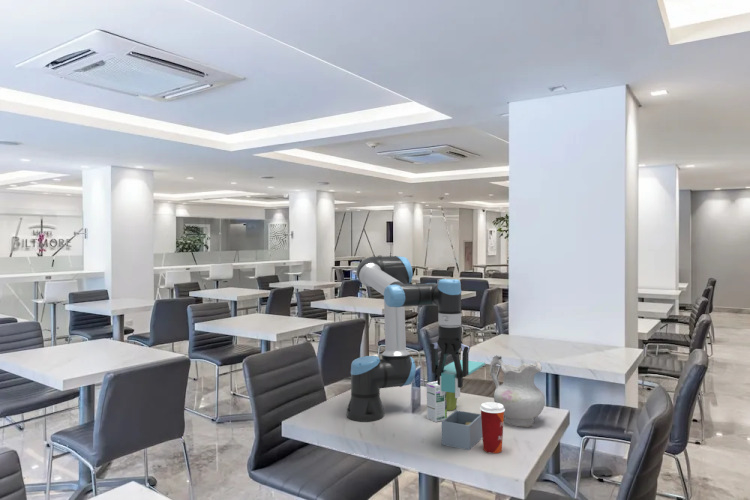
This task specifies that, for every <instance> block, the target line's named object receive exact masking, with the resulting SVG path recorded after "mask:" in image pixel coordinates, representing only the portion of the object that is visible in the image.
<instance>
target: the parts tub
mask: <svg viewBox="0 0 750 500" xmlns="http://www.w3.org/2000/svg"><path fill="white" fill-rule="evenodd" d="M481 439H483V436H482V420H481V413H476V412H469V411H463V410H457V409H456V410H454V411H453V412H452V413H451V414H450V415H447V418H445V419H444V420H442V421H441V445H442V446H448V447H453V448H457V449H463V450H468V451H470V450H471V449H472V448H473V447H474V446H475V445H476V444H478V443H479V441H480V440H481Z"/></svg>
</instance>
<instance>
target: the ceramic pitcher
mask: <svg viewBox="0 0 750 500" xmlns="http://www.w3.org/2000/svg"><path fill="white" fill-rule="evenodd" d="M502 358H503V356H502V355H493V357H492V359H491V361H490V367H489V368H490V369H489V371H490V375H491V379H492V381H493V383H494V385H495V391H494V395H493V400H494V401H493V402H496V403H500V404H502V405H503V406H504V409H505V411H504V419H503V423H505V424H506V425H512V426H517V427H521V428H531V427H534V424H535V421H534V419H535V418H536V419H537V417H539V416H540V415H541V413H542V412H543V410H544V409H545V405H546V404H545V403H546V402H545V401H546V400H545V399H546V398H545V395H544V394H545V393H544V392H543V391H542V390H541V389H540V388H539V387H537V385H536V384H535V375H536V374H537V373H541V372H542V369H543V366H542V364H541V363H540V361H535V362H533V363H532V362H531V363H527V362H524V363H522V364H520V365H518V366H515V365H513V364H505V363H504V361H503V360H502ZM497 365H499V366H500V367H501V370H502V373H503V374H502V375H503V380H504V381H503V382H502V384H500V381H499V377H498V375H497V374H496V366H497Z"/></svg>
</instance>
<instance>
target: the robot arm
mask: <svg viewBox="0 0 750 500" xmlns="http://www.w3.org/2000/svg"><path fill="white" fill-rule="evenodd" d="M355 273H356V274H355V275H356V278H357V280H358V281H359V282H360V283H361V284H362V285H363V286H365V287H370V288H372V289H374V290H375V291H377V292H378V293H380V294H381V295H382V296H383V309H384V344H385V345H384V347H385V350H384V351H383V352H382V353H381V358H380V357H379V356H377V355H365V356H360V357H358V358H356V359H354V360H352V362H351V365H350V399H349V402H348V405H347V409H346V417H347V416H348V417H349V418H351V419H350V420H352V419H353V421H356V420H358V421H357V422H373V421H379V420H381V419H383V418H384V417H385V409H384V406H383V402H382V399H381V397H380V393H381V392H380V390H381V389H387V388H397V387H399V388H402V387H404V386H409V385H411V384H412V383H413V381H414V380H415V377H416V370H417V368H416V361H415V359H414V358H413V357H412V356H411V355H410V354H411V353H410V351H408V350H407V345H406V344H407V343H406V341H407V338H406V314H405V313H406V311H405V310H406V309H405V308H406V307H423V306H427V307H428V306H437V309H438V310H437V311H438V316H437V318H438V321H437V323H438V325H439V326H438V327H437V328H438V331H437V332H438V333H437V334H438V335H437V336H438V340H437V342H431V343H430V344H429V345H430V347H429V348H430V350H431V373H432V374H436V377H437V380H436V381H438V382H437V383H438V385H440V396H443V395H445V391H441V373H443V370H444V366H446V360H447V358H448V357H447V356H448V354H449V355H451V357H452V359H453V362H454V364H455V369H456V373H457V377H456V378H455V398H457V399H459V398H460V397H461V388H463V386H464V383H463V382H464V379H463V378H465V377H467V376H469V375H468V361H469V352H470V350H471V346H470V345H466V344H464V343H463V341H462V327H461V325H462V287H461V286H462V284H461V281H460V280H459V279H455V278H454V279H453V278H444V279H442V278H441V279H439V280H438V281H437V283H436V282H428V283H418V284H417V283H414V284H413V283H412V281H413V276H414V275H413V267H412V265H411V262H410V261H409V259H408V258H407V257H405V256H398V255H394V256H393V255H392V256H390V255H389V256H387V255H386V256H384V255H383V256H369V257H367V258H364V259H363V260H361V261H360V263H359V264H358V265H357V267H356V272H355ZM411 283H412V284H411ZM439 349H440V357H439V351H438V350H439ZM460 349H461V351H462V359H460V352H459V351H460ZM460 360H462V367H461V363H460ZM383 416H384V417H383ZM348 417H347V418H348ZM382 417H383V418H382ZM349 418H348V419H349ZM380 418H381V419H380Z"/></svg>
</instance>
